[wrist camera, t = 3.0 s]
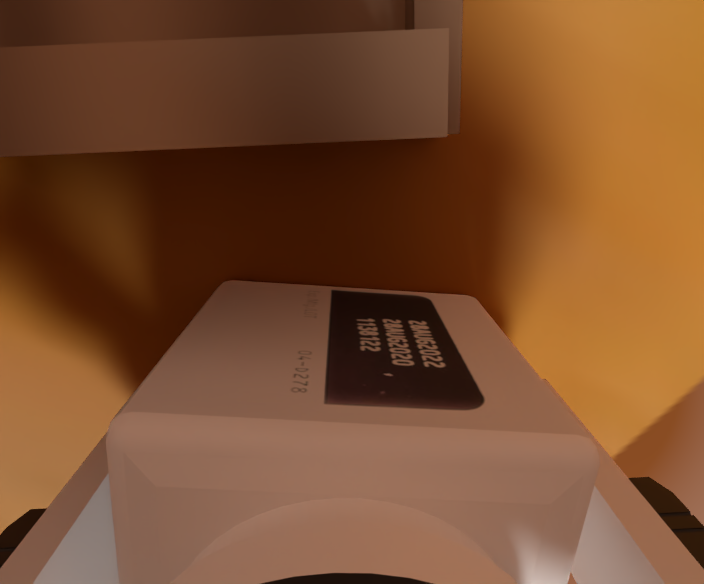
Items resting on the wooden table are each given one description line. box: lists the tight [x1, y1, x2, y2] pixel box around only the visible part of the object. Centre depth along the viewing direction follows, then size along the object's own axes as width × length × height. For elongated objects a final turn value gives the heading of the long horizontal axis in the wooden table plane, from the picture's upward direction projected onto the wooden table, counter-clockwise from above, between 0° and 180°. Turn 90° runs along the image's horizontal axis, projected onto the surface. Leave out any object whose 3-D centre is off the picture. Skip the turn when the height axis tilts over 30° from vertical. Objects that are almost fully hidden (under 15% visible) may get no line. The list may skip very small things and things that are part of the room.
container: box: [106, 280, 600, 584], centre depth 10 cm, size 8×8×13 cm
